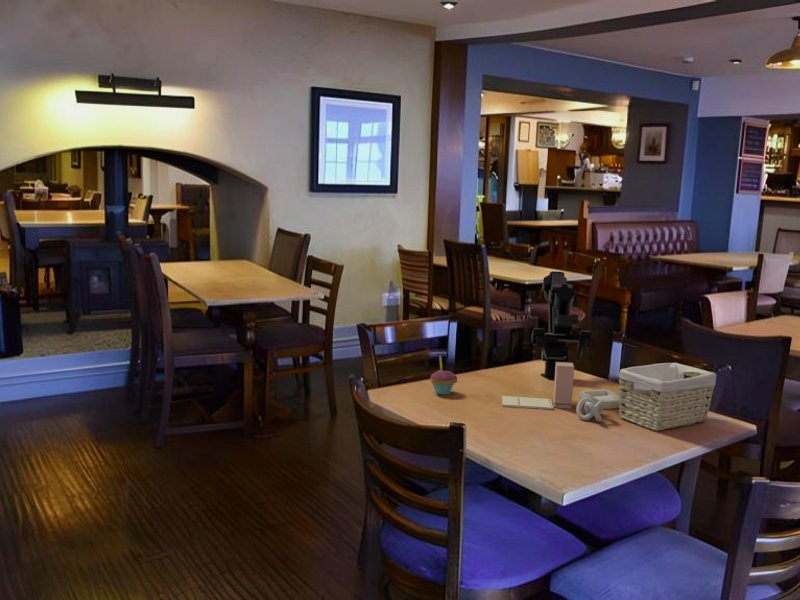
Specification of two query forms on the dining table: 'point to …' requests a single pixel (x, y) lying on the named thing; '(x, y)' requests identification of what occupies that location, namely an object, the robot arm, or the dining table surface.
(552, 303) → the robot arm
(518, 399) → the ticket book
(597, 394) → the bill dish
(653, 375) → the storage basket
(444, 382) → the cupcake
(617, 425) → the dining table surface
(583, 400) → the knot
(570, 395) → the pinkish tall block
